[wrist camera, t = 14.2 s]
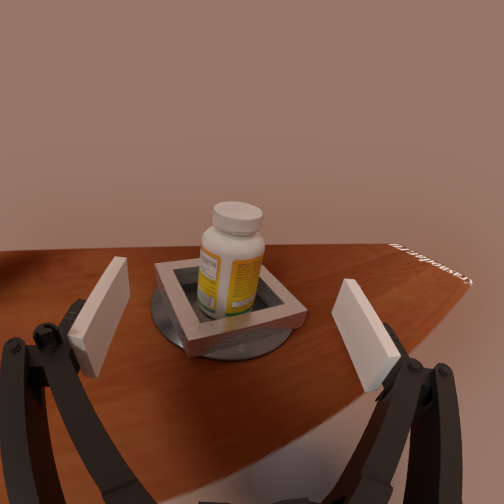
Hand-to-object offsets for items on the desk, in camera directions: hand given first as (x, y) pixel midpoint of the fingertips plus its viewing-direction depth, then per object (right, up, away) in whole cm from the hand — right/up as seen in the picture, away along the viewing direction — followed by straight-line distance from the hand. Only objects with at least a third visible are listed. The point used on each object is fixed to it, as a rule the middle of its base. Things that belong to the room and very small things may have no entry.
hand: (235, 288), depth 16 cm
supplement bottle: (-2, -3, +10) cm, 11 cm away
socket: (-2, -3, +11) cm, 11 cm away
